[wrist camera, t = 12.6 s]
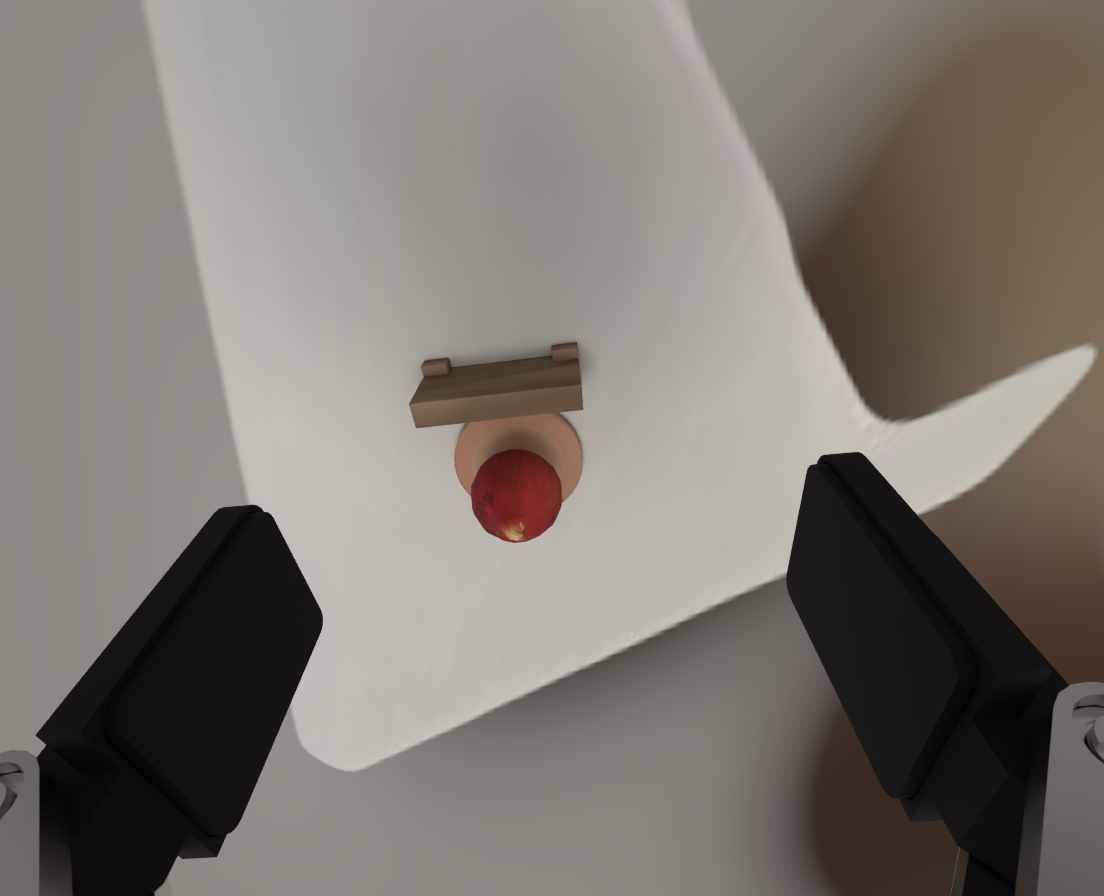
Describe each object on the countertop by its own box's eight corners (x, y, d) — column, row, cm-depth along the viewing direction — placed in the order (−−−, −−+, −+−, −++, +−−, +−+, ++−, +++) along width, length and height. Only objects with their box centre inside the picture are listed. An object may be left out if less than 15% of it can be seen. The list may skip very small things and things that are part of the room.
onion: (502, 506, 39) (490, 587, 33) (463, 445, 37) (441, 519, 30) (574, 479, 38) (578, 557, 31) (539, 414, 35) (535, 484, 29)
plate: (444, 407, 37) (441, 416, 36) (574, 393, 36) (575, 400, 35) (471, 511, 41) (469, 521, 40) (587, 500, 40) (588, 509, 39)
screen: (424, 360, 35) (405, 393, 31) (576, 342, 34) (579, 373, 30) (435, 401, 36) (419, 438, 32) (581, 385, 36) (584, 420, 31)
